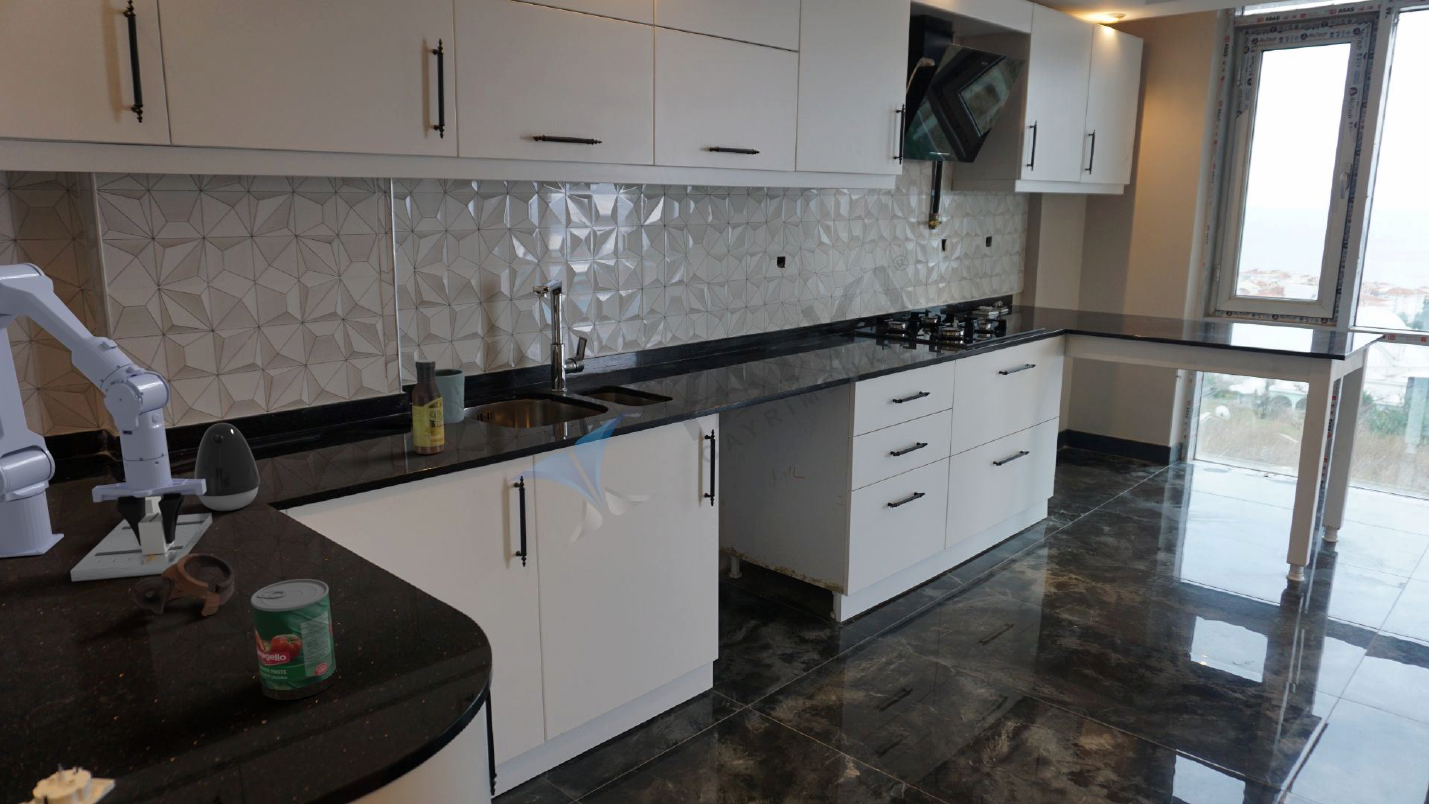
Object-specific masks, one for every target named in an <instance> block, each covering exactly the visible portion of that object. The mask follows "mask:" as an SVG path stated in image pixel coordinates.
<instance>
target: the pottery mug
mask: <svg viewBox="0 0 1429 804" xmlns="http://www.w3.org/2000/svg"><path fill="white" fill-rule="evenodd" d="M193 563H199V564H200V568H214V569H215V568H218V569H219V571H221V573H222V574H223V577H224V578H225V579H226V580H224V581H222V582H218V583H216V584H215V588H214V590H215V591H213V590H212V591H210V590H209V583H207V582H204V581H201V580H197V579H195V578H194V577H193V576H191V575H190V574H189V573H188V572H187V571H186V570H185V569H186V568H187V567H188V566H190V565H192V564H193ZM235 578H236V571H235V570H234V567H233V566H232V565H231V564H230V563H229V562H228V561H226V560H225V559H223V558H221V557H220V556H217V555H215V554H211V553H206V552H205V553H204V552H198V553H195V552H194V553H193V552H192V553H188V554H187V555H185V556H184V557H182V558H180V559H179V561H178V562H177V563H175V564H173V565H171V566H170V567H169V568H167V569H166V570H165V571H164V572H163V574H160V576H149V577H145V578H143V579H141V580H139V581H138V582H136V584H135V585H134V587H133V588H132V591H131V598H132V600H133V601H134V602H135V603H136V605H137V606H138V607H141V608H143V609H146V610H151V611H152V612H153V614H155V615H162V614H164V606H165V601H166V600H171V599H179V598H184V597H185V594H189V595H191V596H193V597H195V598H199V599H201V600H202V599H203V600H204V605H203V608H202V610H201V612H200V613H201V616H203V617H208V616H207V615H211V614H213V613H215V614H216V613H217V612H218V610H219V607H222V606H224V605H225V604H226V603H227V602H228V601H229V599H231V597H232V596H233V594H234V592H235V582H234V581H235ZM149 592H153V593H152V594H151V596H150V597H149V596H147V593H149Z"/></svg>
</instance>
